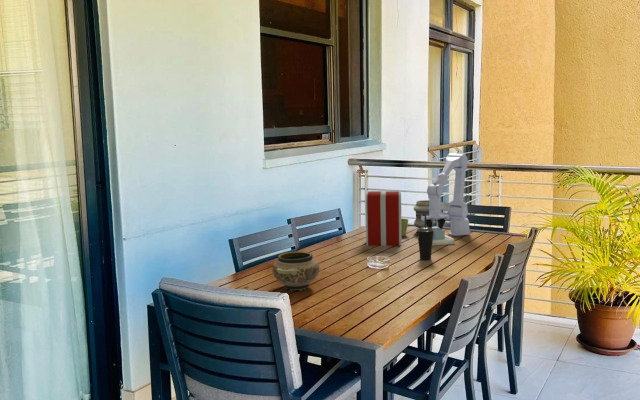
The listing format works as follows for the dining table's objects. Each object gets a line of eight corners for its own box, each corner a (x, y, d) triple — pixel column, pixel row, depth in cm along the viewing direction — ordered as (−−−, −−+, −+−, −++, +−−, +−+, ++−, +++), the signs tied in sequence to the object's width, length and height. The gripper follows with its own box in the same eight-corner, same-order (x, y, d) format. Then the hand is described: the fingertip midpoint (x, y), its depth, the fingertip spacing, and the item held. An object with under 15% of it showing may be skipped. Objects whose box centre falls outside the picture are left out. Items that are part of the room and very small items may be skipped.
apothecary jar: (410, 232, 335) (409, 200, 333) (429, 230, 339) (429, 199, 336) (419, 235, 324) (419, 203, 321) (439, 234, 327) (439, 201, 325)
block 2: (441, 240, 306) (441, 228, 305) (444, 241, 302) (444, 229, 301) (434, 240, 305) (434, 229, 304) (437, 242, 301) (437, 230, 300)
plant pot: (410, 236, 321) (409, 221, 320) (392, 237, 322) (392, 221, 321) (407, 233, 331) (407, 218, 330) (390, 234, 331) (390, 218, 330)
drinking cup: (434, 261, 265) (433, 217, 262) (416, 261, 266) (416, 217, 264) (434, 257, 272) (434, 214, 270) (417, 257, 274) (417, 214, 271)
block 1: (437, 237, 311) (437, 226, 311) (440, 239, 308) (440, 227, 307) (429, 238, 311) (429, 227, 310) (432, 239, 307) (432, 228, 306)
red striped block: (401, 245, 299) (400, 192, 296) (366, 245, 302) (365, 193, 299) (401, 239, 316) (401, 188, 312) (368, 239, 318) (367, 189, 315)
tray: (442, 238, 315) (442, 233, 314) (454, 243, 300) (454, 239, 300) (421, 239, 312) (421, 235, 312) (432, 245, 298) (432, 240, 297)
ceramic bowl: (295, 284, 244) (286, 249, 243) (334, 277, 236) (324, 241, 235) (266, 302, 221) (256, 263, 221) (307, 294, 214) (297, 254, 213)
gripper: (424, 209, 302) (424, 235, 303) (451, 207, 304) (451, 233, 306) (419, 207, 308) (419, 233, 310) (445, 206, 311) (445, 231, 313)
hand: (435, 233), depth 309 cm, fingers open, 5 cm apart
